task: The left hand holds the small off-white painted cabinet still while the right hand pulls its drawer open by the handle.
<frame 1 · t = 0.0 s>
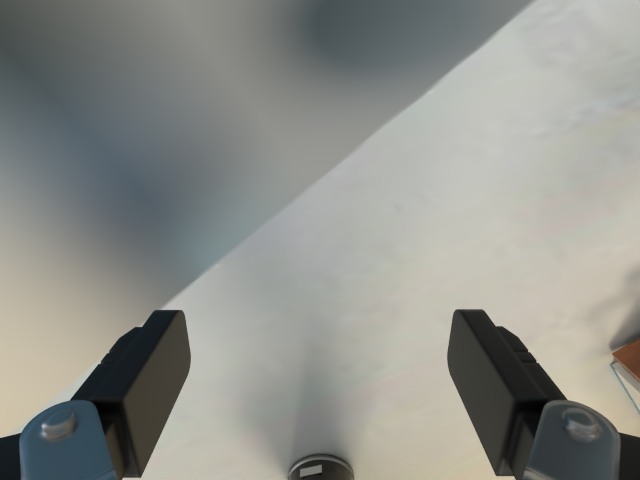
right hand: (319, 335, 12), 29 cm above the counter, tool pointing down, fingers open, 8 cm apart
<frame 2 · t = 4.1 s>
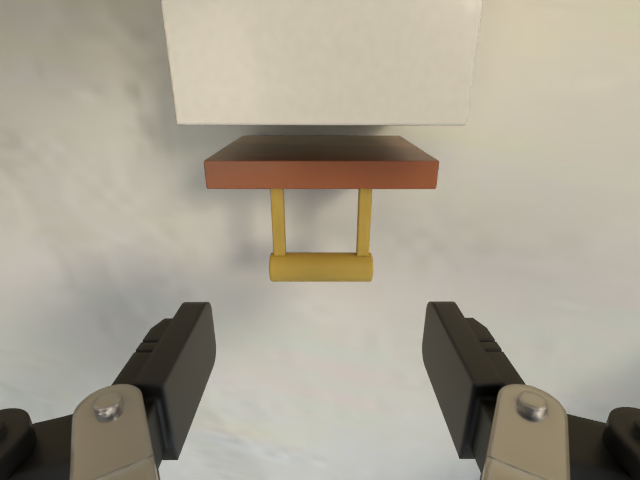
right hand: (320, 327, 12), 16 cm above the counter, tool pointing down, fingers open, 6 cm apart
drawer: (321, 48, 18), point 5 cm above the counter, slide at 1.5 cm
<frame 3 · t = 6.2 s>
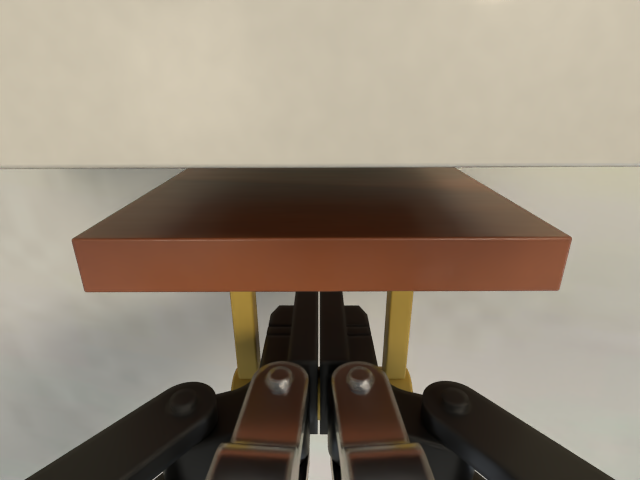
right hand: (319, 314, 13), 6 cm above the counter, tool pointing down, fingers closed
drawer: (320, 12, 10), point 5 cm above the counter, slide at 1.5 cm, touching right hand
when the left hand's fingers open (6 cm above the counter, at t = 9.0 s): cabinet stays where it is, on the counter.
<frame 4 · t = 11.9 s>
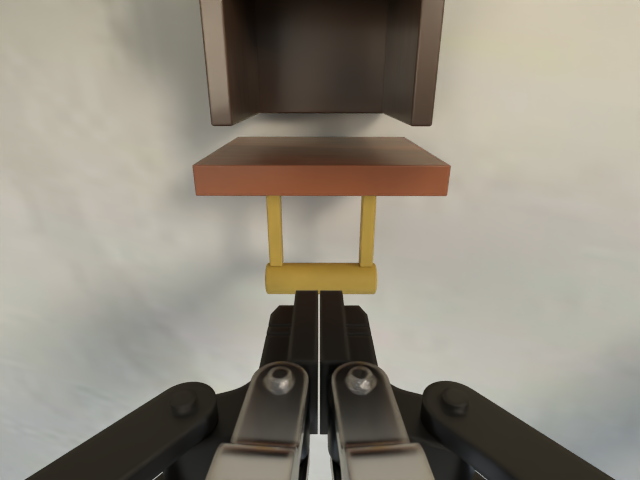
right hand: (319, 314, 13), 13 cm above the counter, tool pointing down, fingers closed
drawer: (321, 43, 17), point 5 cm above the counter, slide at 6.5 cm
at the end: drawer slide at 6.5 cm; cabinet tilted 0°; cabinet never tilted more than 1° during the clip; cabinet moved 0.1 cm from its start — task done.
